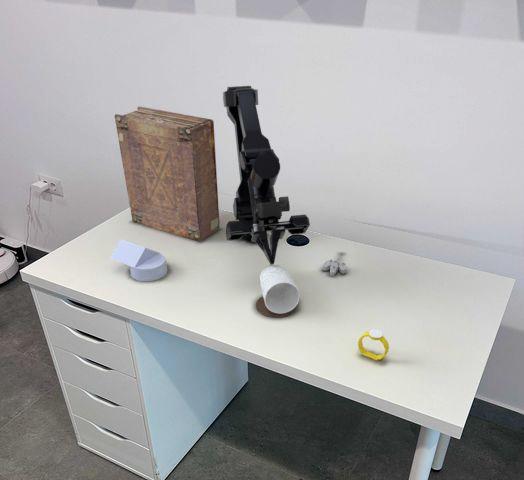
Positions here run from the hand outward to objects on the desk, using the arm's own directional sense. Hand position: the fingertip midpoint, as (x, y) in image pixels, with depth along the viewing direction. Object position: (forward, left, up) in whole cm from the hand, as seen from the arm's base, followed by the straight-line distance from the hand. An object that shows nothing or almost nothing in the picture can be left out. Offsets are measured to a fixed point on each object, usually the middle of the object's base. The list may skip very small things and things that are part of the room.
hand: (272, 264), depth 121 cm
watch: (+9, +30, -8) cm, 32 cm away
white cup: (-1, -1, -4) cm, 4 cm away
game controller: (-20, +7, -8) cm, 23 cm away
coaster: (+4, +4, -8) cm, 10 cm away
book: (-15, -44, -8) cm, 47 cm away
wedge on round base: (+9, -33, -8) cm, 36 cm away
